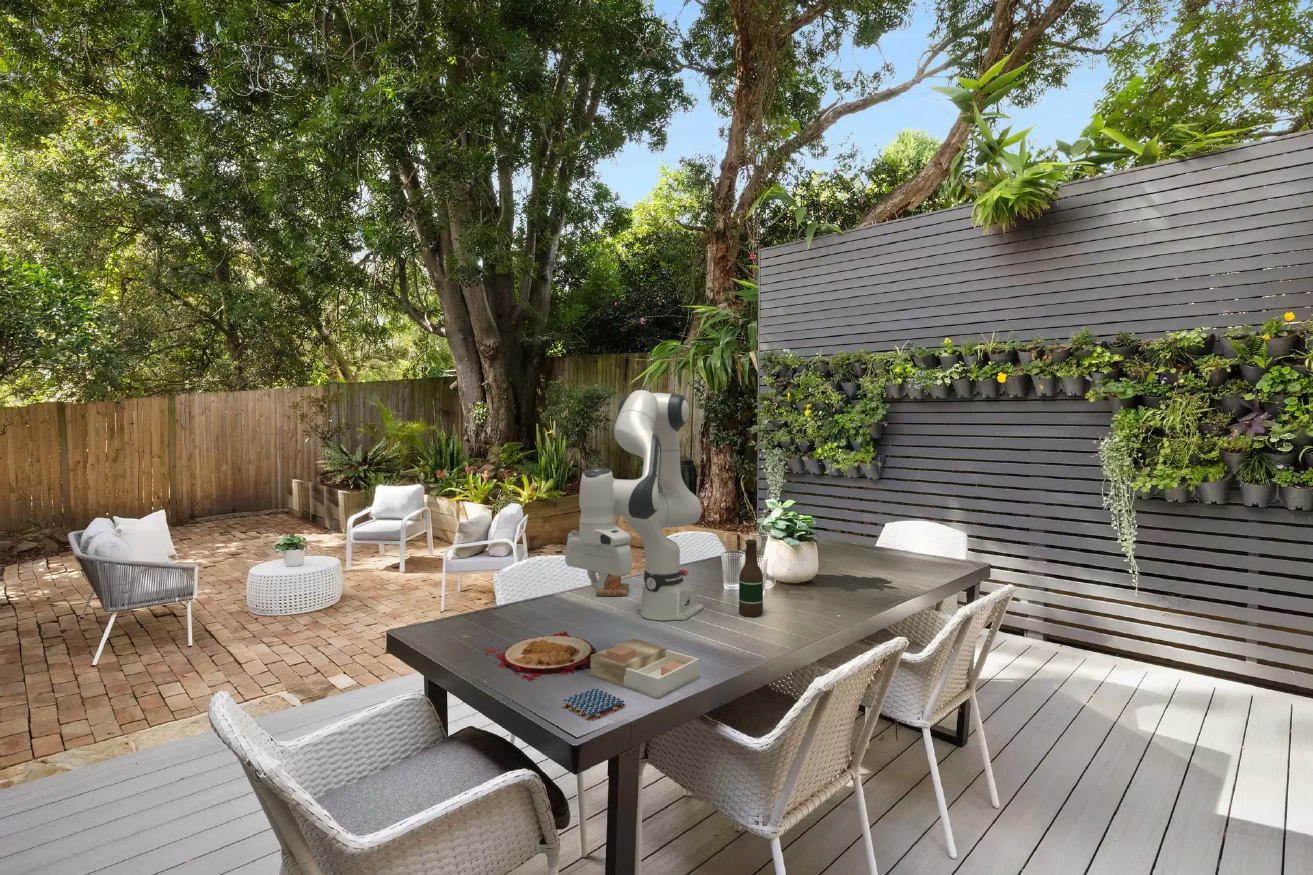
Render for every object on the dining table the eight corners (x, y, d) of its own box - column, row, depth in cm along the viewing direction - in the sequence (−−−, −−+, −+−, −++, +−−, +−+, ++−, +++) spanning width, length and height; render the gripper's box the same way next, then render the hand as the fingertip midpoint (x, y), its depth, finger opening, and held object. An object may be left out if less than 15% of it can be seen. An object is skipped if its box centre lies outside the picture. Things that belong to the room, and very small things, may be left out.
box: (665, 666, 169) (665, 649, 169) (699, 676, 163) (699, 658, 163) (623, 686, 157) (623, 667, 157) (658, 698, 150) (658, 679, 150)
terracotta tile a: (689, 665, 163) (689, 673, 163) (673, 660, 166) (673, 668, 166) (677, 671, 159) (677, 680, 159) (660, 666, 162) (660, 674, 163)
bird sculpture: (597, 588, 244) (596, 502, 243) (628, 588, 245) (628, 502, 244) (596, 597, 233) (595, 507, 232) (629, 596, 234) (629, 506, 233)
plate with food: (565, 638, 194) (565, 625, 193) (612, 664, 172) (611, 650, 171) (483, 656, 180) (483, 643, 180) (522, 687, 158) (522, 672, 158)
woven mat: (591, 724, 139) (591, 715, 139) (560, 708, 147) (560, 699, 146) (628, 709, 146) (628, 700, 146) (597, 694, 154) (597, 686, 154)
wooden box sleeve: (633, 656, 176) (633, 638, 176) (665, 666, 169) (665, 647, 169) (590, 675, 164) (590, 655, 164) (623, 686, 157) (623, 665, 157)
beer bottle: (767, 613, 214) (768, 539, 213) (754, 619, 208) (754, 543, 207) (747, 609, 219) (747, 536, 218) (734, 614, 213) (734, 540, 212)
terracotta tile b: (620, 652, 166) (620, 644, 165) (635, 657, 162) (635, 649, 162) (606, 658, 162) (606, 650, 162) (621, 663, 159) (621, 654, 158)
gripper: (559, 530, 170) (559, 584, 170) (618, 540, 157) (618, 597, 158) (577, 527, 175) (577, 579, 175) (636, 536, 162) (636, 592, 163)
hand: (597, 588), depth 166 cm, fingers closed
